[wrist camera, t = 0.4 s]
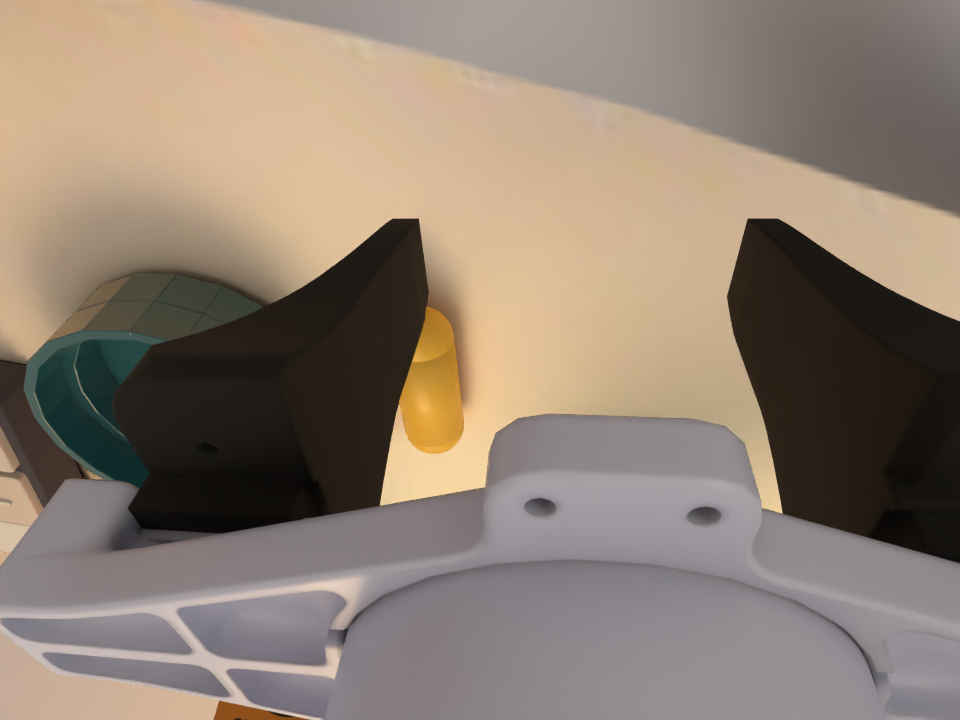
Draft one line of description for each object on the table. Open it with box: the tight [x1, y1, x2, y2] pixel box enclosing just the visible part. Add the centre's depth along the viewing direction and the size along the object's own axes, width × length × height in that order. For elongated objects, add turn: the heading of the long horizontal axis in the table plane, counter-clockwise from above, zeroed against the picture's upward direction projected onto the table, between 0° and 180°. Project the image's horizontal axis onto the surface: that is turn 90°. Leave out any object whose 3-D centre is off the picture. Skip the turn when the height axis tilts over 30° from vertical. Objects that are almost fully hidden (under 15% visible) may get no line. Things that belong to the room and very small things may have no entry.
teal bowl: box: [24, 274, 264, 489], centre depth 30 cm, size 13×13×4 cm
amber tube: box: [399, 307, 464, 454], centre depth 29 cm, size 10×3×3 cm, turn 4°
